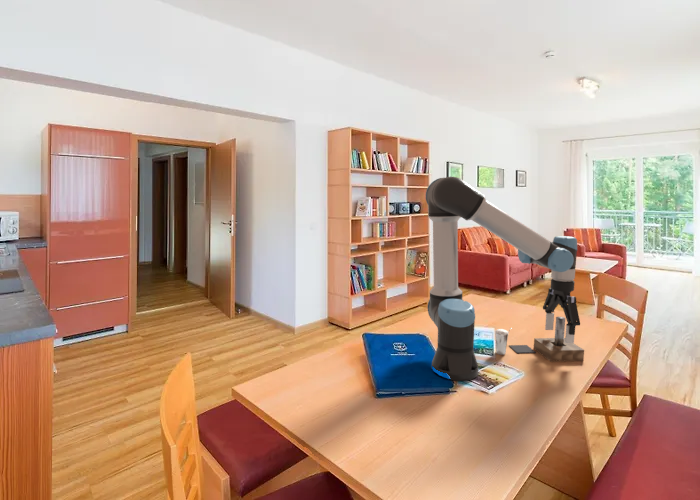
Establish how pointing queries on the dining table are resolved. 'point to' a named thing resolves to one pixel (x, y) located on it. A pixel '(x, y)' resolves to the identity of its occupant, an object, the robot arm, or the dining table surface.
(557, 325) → the pin
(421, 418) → the dining table surface
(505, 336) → the milkshake
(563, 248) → the robot arm
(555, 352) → the hole block
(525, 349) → the mat
